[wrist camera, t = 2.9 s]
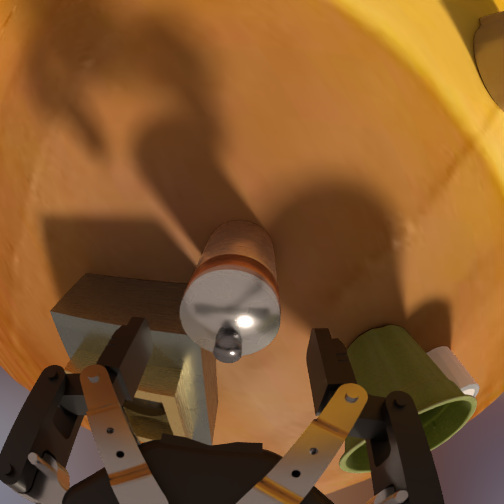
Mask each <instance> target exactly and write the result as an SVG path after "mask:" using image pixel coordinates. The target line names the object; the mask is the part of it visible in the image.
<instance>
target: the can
mask: <svg viewBox="0 0 504 504" xmlns="http://www.w3.org/2000/svg"><path fill="white" fill-rule="evenodd" d="M280 313H281V308H280V298H279V289H278V285H277V276H276V266H275V256H274V247H273V243H272V241H271V238H270V237H269V235H268V234H267V233H266V231H264V230H263V229H262V228H261V227H260V226H258V225H256V224H254V223H252V222H248V221H242V220H236V221H230V222H227V223H225V224H223V225H221V226H219V227H218V228H217V229H216V230H215V231H214V232H213V233H212V234H211V236H210V238H209V240H208V242H207V244H206V246H205V249H204V251H203V253H202V255H201V258H200V260H199V262H198V264H197V267H196V269H195V271H194V273H193V274H192V276H191V278H190V281H189V283H188V285H187V288H186V290H185V292H184V295H183V298H182V302H181V305H180V321H181V324H182V327H183V329H184V330H185V332H186V333H187V335H188V336H189V337H190V338H191V339H192V340H193V341H194V342H195V343H196V344H197V345H199V346H200V347H202V348H204V349H206V350H208V351H210V352H213V354H214V356H215V358H216V359H218V360H219V361H221V362H224V363H233V362H236V361H238V360H239V359H240V358H241V356H243V355H248V354H252V353H254V352H257V351H259V350H261V349H263V348H264V347H266V346H267V345H268V344H269V343H270V342H271V341H272V340H273V339H274V338H275V336H276V334H277V332H278V330H279V327H280Z"/></svg>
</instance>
